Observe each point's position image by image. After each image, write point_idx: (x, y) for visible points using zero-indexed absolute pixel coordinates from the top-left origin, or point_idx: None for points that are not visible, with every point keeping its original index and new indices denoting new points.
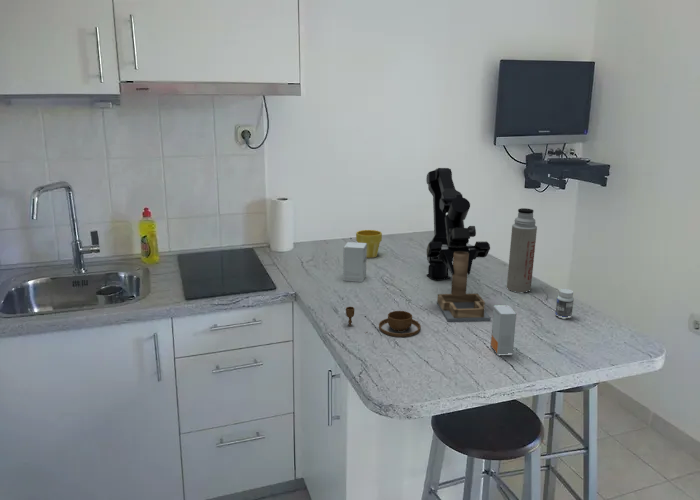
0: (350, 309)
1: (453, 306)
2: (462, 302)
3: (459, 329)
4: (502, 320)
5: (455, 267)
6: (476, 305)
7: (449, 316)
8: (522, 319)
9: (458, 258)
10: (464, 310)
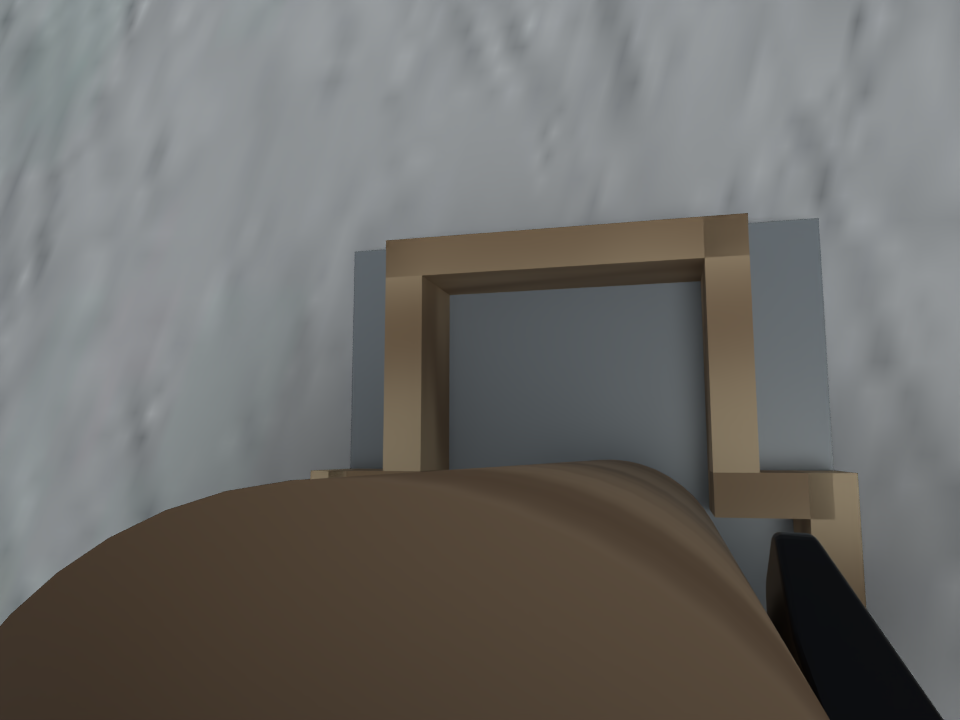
0: None
1: (733, 335)
2: None
3: (721, 50)
4: None
5: (744, 582)
6: (427, 412)
7: (783, 285)
8: (100, 295)
9: (673, 546)
10: (617, 225)
